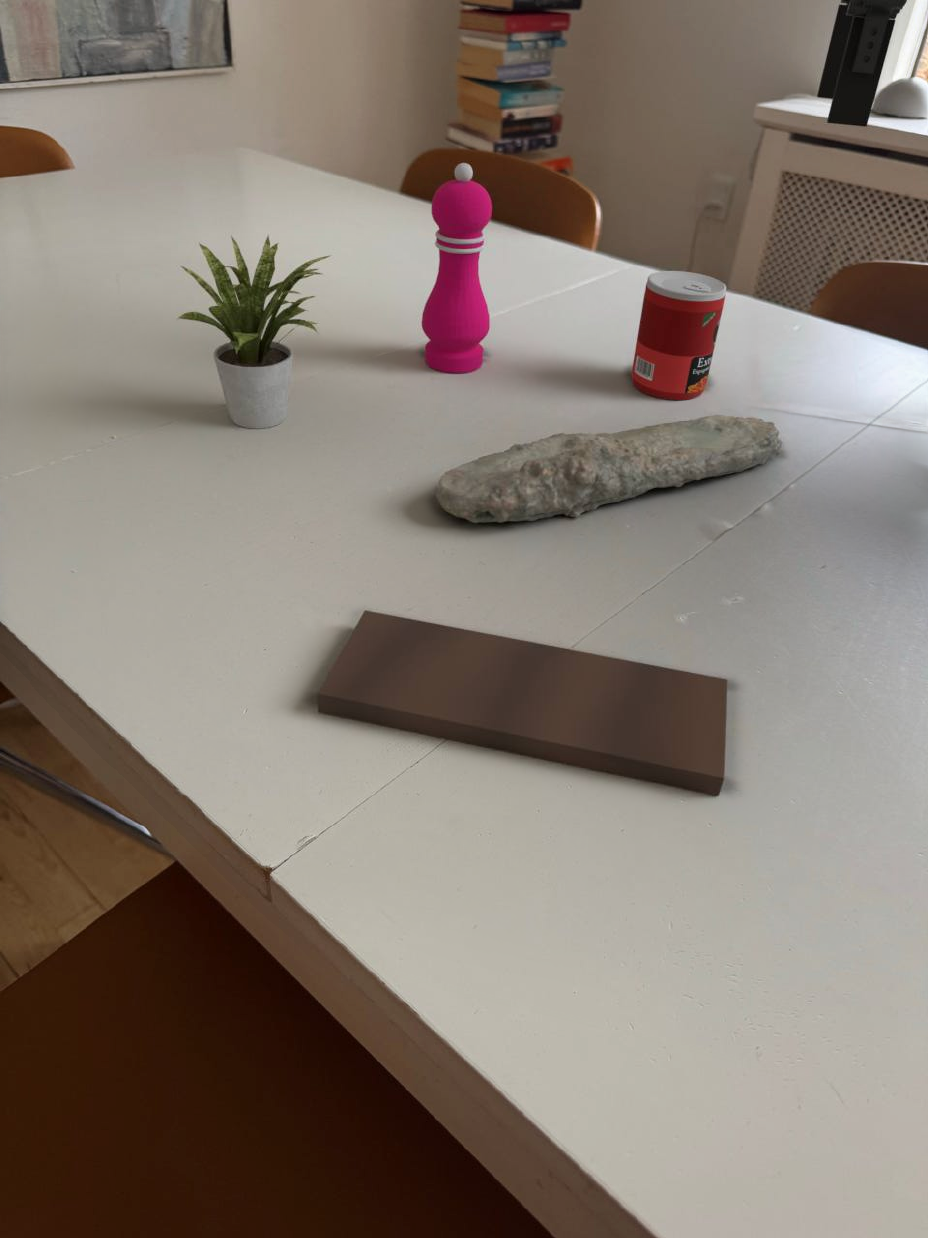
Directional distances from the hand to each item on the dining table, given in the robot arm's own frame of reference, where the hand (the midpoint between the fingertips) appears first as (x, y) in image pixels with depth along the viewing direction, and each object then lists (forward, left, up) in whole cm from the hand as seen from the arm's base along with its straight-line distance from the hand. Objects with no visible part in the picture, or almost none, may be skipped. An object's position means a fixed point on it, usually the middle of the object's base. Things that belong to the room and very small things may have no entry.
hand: (839, 110), depth 75 cm
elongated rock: (+12, +12, -29) cm, 33 cm away
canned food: (+9, -12, -29) cm, 33 cm away
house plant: (+45, +11, -29) cm, 55 cm away
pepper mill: (+32, -10, -29) cm, 44 cm away
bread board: (+14, +43, -29) cm, 54 cm away
